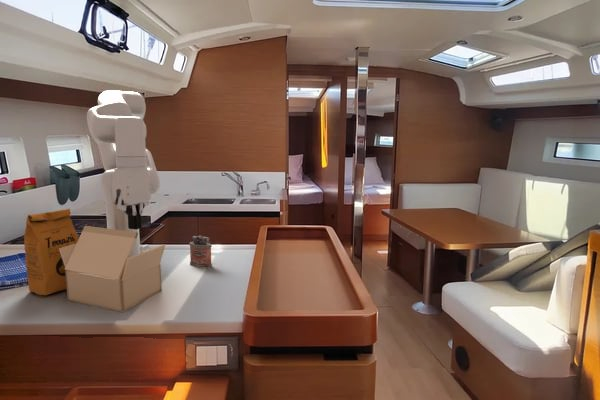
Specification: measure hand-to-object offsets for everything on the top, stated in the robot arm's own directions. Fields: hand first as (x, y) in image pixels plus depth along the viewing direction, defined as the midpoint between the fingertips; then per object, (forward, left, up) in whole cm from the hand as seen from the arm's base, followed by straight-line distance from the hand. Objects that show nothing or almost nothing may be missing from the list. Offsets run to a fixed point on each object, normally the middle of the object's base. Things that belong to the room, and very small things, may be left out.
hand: (135, 228), depth 106 cm
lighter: (-21, +7, -17) cm, 28 cm away
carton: (+8, 0, -17) cm, 19 cm away
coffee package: (+10, -18, -17) cm, 27 cm away
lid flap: (+12, 0, -3) cm, 12 cm away
